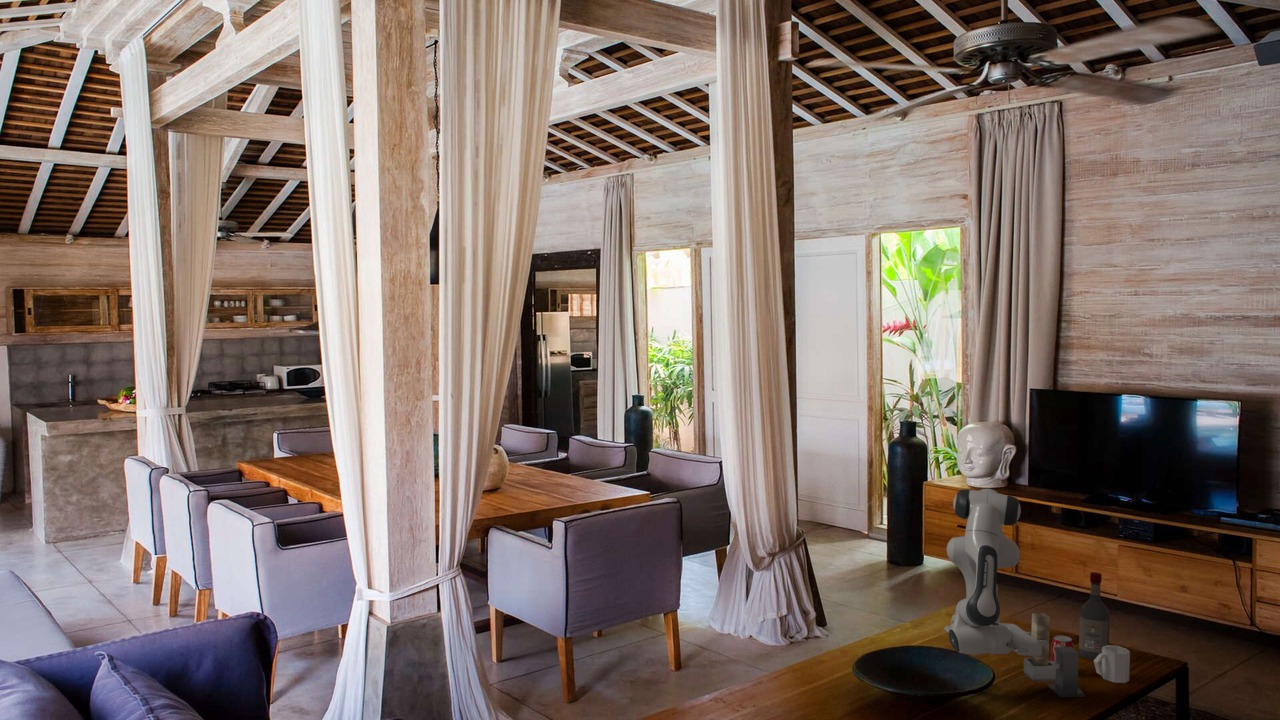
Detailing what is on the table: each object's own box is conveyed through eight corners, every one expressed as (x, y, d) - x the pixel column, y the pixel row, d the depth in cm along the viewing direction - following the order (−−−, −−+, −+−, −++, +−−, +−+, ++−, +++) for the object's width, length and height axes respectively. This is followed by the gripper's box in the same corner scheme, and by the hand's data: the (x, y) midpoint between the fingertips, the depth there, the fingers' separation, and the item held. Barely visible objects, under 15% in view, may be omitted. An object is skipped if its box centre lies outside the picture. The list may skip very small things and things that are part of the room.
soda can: (1075, 677, 320) (1076, 642, 319) (1053, 675, 321) (1054, 640, 321) (1070, 669, 327) (1071, 635, 326) (1048, 667, 328) (1049, 633, 327)
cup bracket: (1033, 697, 303) (1034, 654, 302) (1022, 687, 311) (1023, 645, 310) (1084, 696, 304) (1085, 654, 303) (1072, 686, 312) (1073, 645, 311)
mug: (1116, 672, 324) (1117, 644, 324) (1135, 682, 316) (1135, 653, 315) (1086, 675, 321) (1087, 647, 321) (1104, 685, 313) (1105, 656, 312)
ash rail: (1036, 672, 305) (1037, 617, 304) (1030, 667, 309) (1031, 613, 308) (1048, 672, 305) (1049, 617, 304) (1042, 667, 309) (1044, 613, 308)
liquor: (1106, 662, 333) (1108, 578, 332) (1078, 657, 338) (1080, 574, 336) (1109, 654, 341) (1111, 572, 339) (1081, 649, 346) (1083, 568, 344)
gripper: (1014, 641, 295) (1058, 641, 296) (988, 620, 316) (1029, 619, 316) (1014, 661, 296) (1057, 660, 296) (988, 638, 316) (1028, 638, 316)
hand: (1043, 639), depth 306 cm, fingers closed on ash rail, 4 cm apart
